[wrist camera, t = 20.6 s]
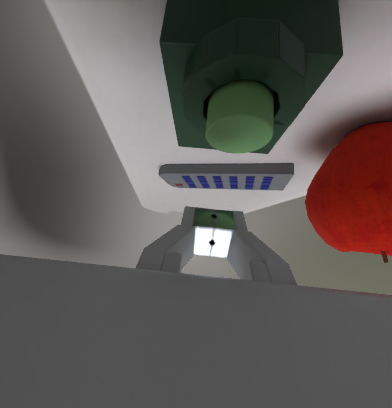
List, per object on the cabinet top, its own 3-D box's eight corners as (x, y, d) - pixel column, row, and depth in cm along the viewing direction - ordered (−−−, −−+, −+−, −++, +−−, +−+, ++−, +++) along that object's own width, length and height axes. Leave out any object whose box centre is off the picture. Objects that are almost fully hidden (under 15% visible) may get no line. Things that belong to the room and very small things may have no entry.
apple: (289, 157, 27) (291, 253, 24) (345, 89, 15) (361, 258, 12) (381, 161, 25) (394, 264, 23) (516, 91, 14) (579, 280, 11)
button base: (165, -53, 9) (146, 47, 8) (358, -41, 9) (371, 63, 7) (182, 112, 20) (176, 164, 19) (268, 119, 20) (267, 173, 18)
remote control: (282, 180, 36) (282, 191, 36) (171, 179, 41) (170, 189, 41) (293, 162, 29) (294, 176, 28) (156, 164, 34) (154, 175, 33)
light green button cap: (210, 75, 9) (206, 112, 9) (285, 81, 9) (286, 118, 9) (206, 123, 13) (203, 151, 12) (260, 127, 12) (260, 156, 12)
